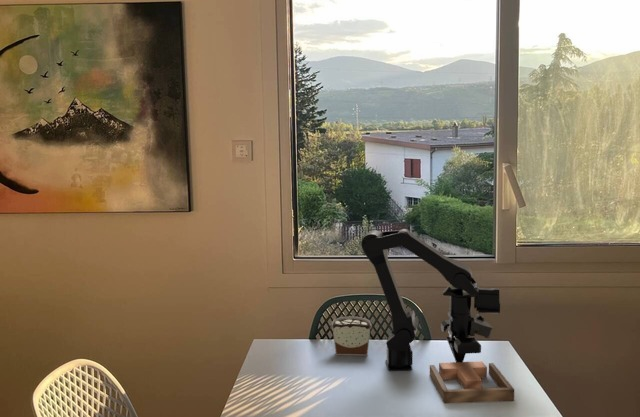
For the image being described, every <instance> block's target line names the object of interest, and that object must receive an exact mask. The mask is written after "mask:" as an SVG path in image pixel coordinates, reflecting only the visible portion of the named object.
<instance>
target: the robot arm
mask: <svg viewBox="0 0 640 417" xmlns="http://www.w3.org/2000/svg"><path fill="white" fill-rule="evenodd" d="M360 244H361V245H360V246H361V249H362V252H363V253H364V254H365V257H366V258H367V259H368V261H369V262H370V263H371V264H372V266H373V267H374V269H375V272H376V275H377V279H378V281H379V283H380V285H381V288H382V291H383V294H384V297H385V299H386V304H387V305H388V308H389V311H390V314H391V322H392V323H391V325H392V330H391V331H390V333H389V335H388V337H387V340H386V342H385V343H386V359H385V364H386V366H387V369H388V370H389V371H408V370H409V371H411V370H412V369H413V367H412V366H413V350H412V348H411V347H412V346H411V345H410V344H412V342H413V341H414V340H415V338H416V334H417V331H418V327H419V326H418V325H419V321H418V320H417V318H416V314H415V311H414V309H413V310H410V311H409V310H408V309H407V307H406V305H405V302H404V300H403V298H402V294H401V292H400V289H399V286H398V283H397V282H396V278H395V276H394V273H393V270H392V267H391V265H390V262H389V257H388V256H389V255H388V250H389V249H392V248H397V247H404V248H405V249H407V250H408V251H409V252H410V253H412V254H414V255H415V256H417V257H418V258H419V259H421V260H422V261H424V262H425V263H427V264H429V266H431V267H433V268H434V269H435V270H437V271H438V273H440V274H441V276H442V277H443V278H444V279H445V280H446V281H447V282H448V283H449V284H448V285H447V287H446V288H444V289H443V291H442V295H443V296H445V297H446V296H447V297H449V311H447V317H448V318H449V319H444V320H442V322H440V330H441V332H442V333H446V331H447V333H448V336H446V338H445V339H446V341H447V343H448V345H449V348H450V350H451V352H452V356H453V358H454V360H455V361H454V362H464V359H465V357H466V355H468V354H480V353H482V345H481V343H480V342H479V341H478V340H477V339H476V338H475V334H476V335H479V336H482V337H484V338H485V339H490V336H491V334H492V331H493V329H494V328H493V326H492V325H491V323H489V322H487V321H486V320H485V318H484V317H483V315H481V314H497V315H500V314H501V300H500V299H501V298H500V288H499V287H490V288H489V287H479V284H478V282H477V281H476V280H475V279H474V277H473V273H472V269H471V267H470V266H468V264H465V263H463V262H461V261H458V260H457V259H454V258H450V257H448V256H446V255H445V254H443V253H441V252H440V251H438V250H436V249H435V248H434V247H432V246H431V245H429V244H428V243H427V242H425V241H423V240H422V239H421V238H420V237H418V236H416V235H414V234H413V233H412V232H411V231H410V230H409V229H406V228H402V229H399V230H398V229H397V230H385V231H380V230H377V229H374V230H370V231H368V232H367V233H366V235H364V237H363V238H362V240H361V242H360ZM472 298H474V299H473V309H475V311H476V312H478V313H479V314H475V316H473V315H472ZM480 313H481V314H480Z"/></svg>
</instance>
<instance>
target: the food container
mask: <svg viewBox="0 0 640 417" xmlns="http://www.w3.org/2000/svg"><path fill="white" fill-rule="evenodd" d="M330 329H332V332H333V334H332V335H333V342H334V350H335V355H336V356H368V355H369V354H368V353H369V345H370V344H369V343H370V334H371V329H373V324H372V323H371V321H370V319H367V318H364V317H361V316H342V317H338V318H335V319H334V320H333V321H332V322H331V324H330Z"/></svg>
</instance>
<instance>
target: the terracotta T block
mask: <svg viewBox="0 0 640 417" xmlns="http://www.w3.org/2000/svg"><path fill="white" fill-rule="evenodd" d="M438 373H439V375H440V376H441V378H442V380H457V381H458V382H459V384H460V385H461V387H462V389H478V388H482V384H483V381H482V379H487V377H488V367H487V365H486V364H485V363H484V361H482V360H481V361H479V360H478V361H463V362H456V361H454V362H438Z"/></svg>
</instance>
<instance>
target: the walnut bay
mask: <svg viewBox="0 0 640 417" xmlns="http://www.w3.org/2000/svg"><path fill="white" fill-rule="evenodd" d="M488 375H489V376H490V377H491V379H492V380H493V381H494V383H495V384H496V386H497V387H486V388H485V387H483V388H478V389H464V388H453V389H452V388H451V389H450V388H449V389H448V387H447V385H446V384H445V382H444V379H442V378H441V376H440V374H439V370H437V368H436V366H435V364H429V377H430V379H431V381H432V382H433V385H434V387H435V389H436V391H437V393H438V394H439V396H440V398H441V400H442V402H443V404H455V403H456V404H463V403H464V404H465V403H466V404H467V403H469V404H470V403H490V402H491V403H493V402H494V403H495V402H514V401H515V388H514V387H513V386H512V385H511V383H510V382H509V381H508V380H507V379H506V377H505V376H504V375H503V373H502V371H500V370H499V368H498V367H497V366H496V364H494V362H489V363H488Z"/></svg>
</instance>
